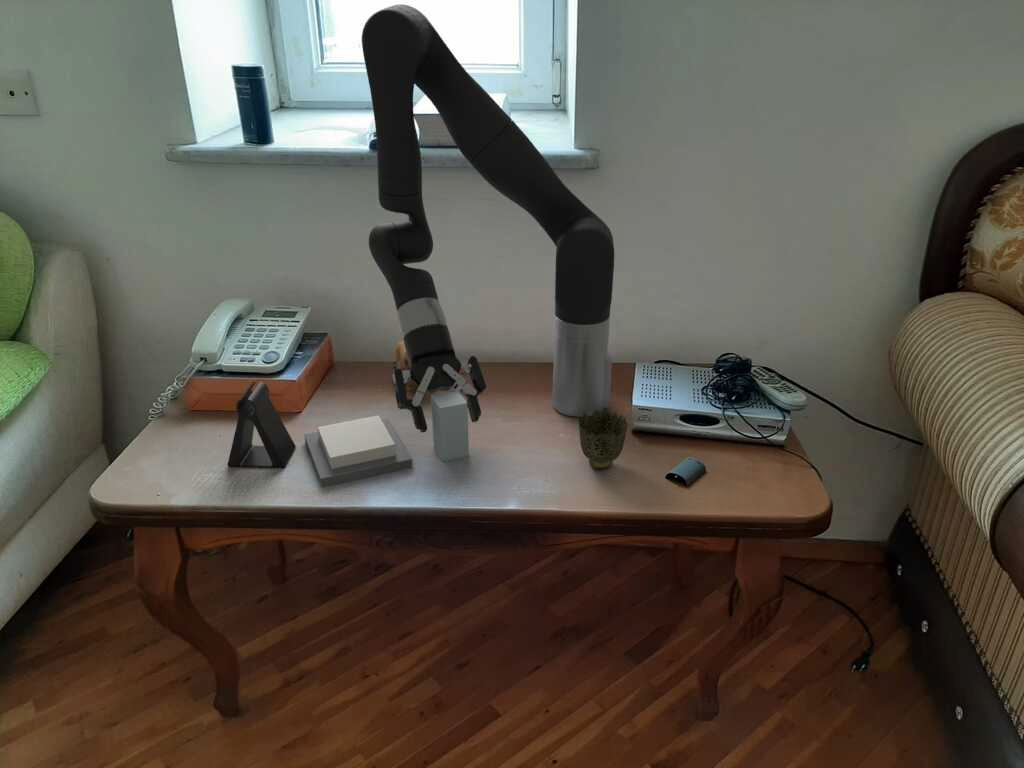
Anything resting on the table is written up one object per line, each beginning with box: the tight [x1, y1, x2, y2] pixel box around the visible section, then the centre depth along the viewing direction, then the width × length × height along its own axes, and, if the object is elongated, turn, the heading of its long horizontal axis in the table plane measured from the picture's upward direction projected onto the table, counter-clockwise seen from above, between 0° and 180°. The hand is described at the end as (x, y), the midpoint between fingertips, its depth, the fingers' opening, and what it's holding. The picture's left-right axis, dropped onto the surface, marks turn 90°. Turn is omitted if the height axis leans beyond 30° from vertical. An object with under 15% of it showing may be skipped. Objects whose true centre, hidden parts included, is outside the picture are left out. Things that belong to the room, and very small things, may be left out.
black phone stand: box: [227, 381, 296, 469], centre depth 121 cm, size 9×6×12 cm, turn 88°
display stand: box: [303, 414, 414, 488], centre depth 124 cm, size 14×14×4 cm
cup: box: [577, 408, 629, 471], centre depth 120 cm, size 8×7×8 cm
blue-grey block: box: [430, 390, 470, 462], centre depth 123 cm, size 4×4×10 cm
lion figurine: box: [392, 340, 414, 391], centre depth 147 cm, size 15×5×9 cm, turn 34°
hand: (450, 425), depth 123 cm, fingers open, 8 cm apart
